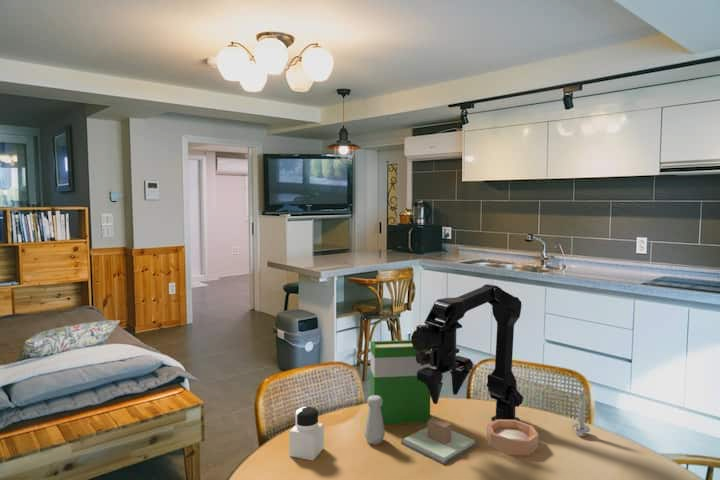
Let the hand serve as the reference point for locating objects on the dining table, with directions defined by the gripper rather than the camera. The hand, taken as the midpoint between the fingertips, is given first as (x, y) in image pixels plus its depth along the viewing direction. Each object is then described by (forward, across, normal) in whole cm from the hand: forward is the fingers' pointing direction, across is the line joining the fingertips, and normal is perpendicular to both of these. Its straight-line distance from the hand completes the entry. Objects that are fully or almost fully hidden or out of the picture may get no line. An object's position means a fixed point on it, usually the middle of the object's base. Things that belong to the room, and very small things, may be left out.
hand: (445, 398), depth 137 cm
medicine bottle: (+12, +33, -22) cm, 41 cm away
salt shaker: (+13, +15, -14) cm, 24 cm away
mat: (+13, +3, 0) cm, 13 cm away
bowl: (+13, -13, +13) cm, 23 cm away
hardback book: (+13, -2, -19) cm, 23 cm away
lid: (+12, +2, 0) cm, 12 cm away
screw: (+13, -33, +24) cm, 43 cm away
